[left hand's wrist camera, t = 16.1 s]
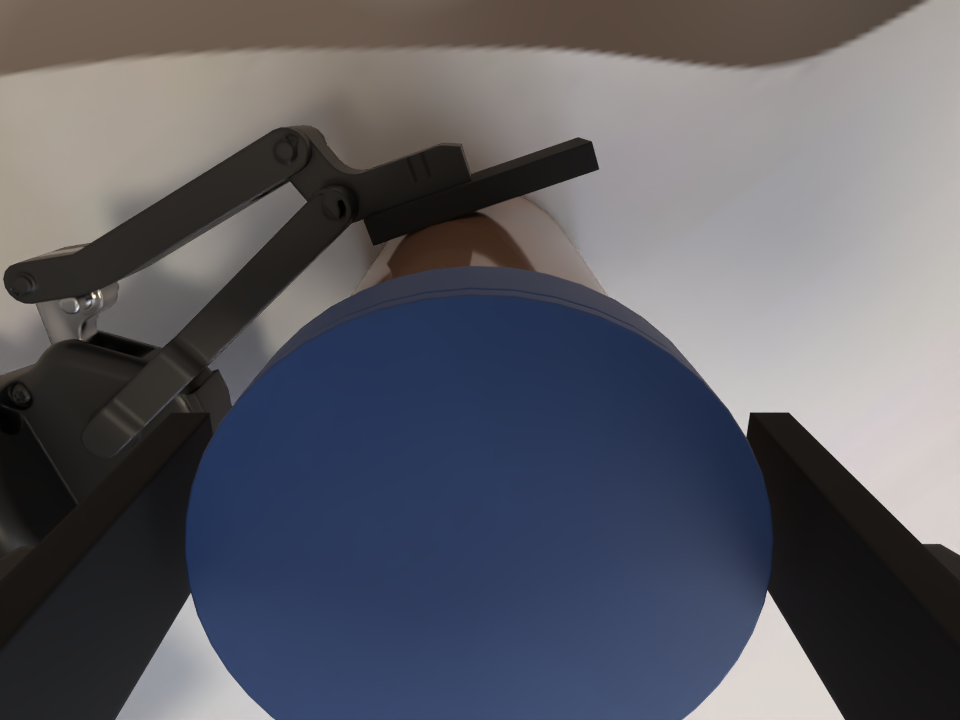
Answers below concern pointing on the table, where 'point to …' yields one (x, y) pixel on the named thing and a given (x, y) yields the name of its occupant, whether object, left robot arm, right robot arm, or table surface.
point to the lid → (478, 512)
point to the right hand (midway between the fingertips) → (625, 296)
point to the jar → (486, 246)
